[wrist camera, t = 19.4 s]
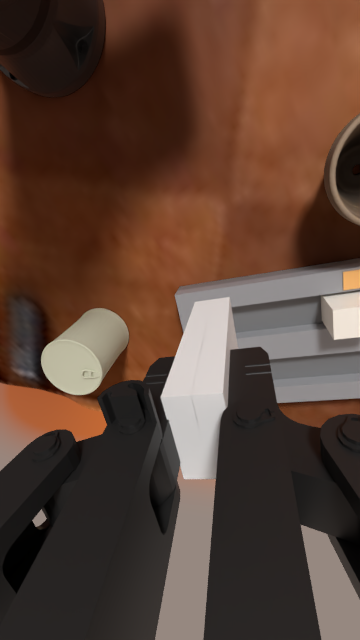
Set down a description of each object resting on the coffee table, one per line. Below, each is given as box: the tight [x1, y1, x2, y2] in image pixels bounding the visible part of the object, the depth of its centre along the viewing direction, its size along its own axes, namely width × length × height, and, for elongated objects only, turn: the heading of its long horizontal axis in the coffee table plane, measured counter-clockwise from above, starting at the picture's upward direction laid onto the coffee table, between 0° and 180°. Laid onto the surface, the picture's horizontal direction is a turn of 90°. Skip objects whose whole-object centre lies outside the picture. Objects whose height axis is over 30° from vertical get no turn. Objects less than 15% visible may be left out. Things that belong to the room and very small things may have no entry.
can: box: [41, 308, 129, 395], centre depth 48 cm, size 9×9×12 cm
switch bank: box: [175, 258, 360, 403], centre depth 45 cm, size 20×30×4 cm, turn 102°
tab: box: [321, 290, 360, 340], centre depth 39 cm, size 4×5×6 cm
